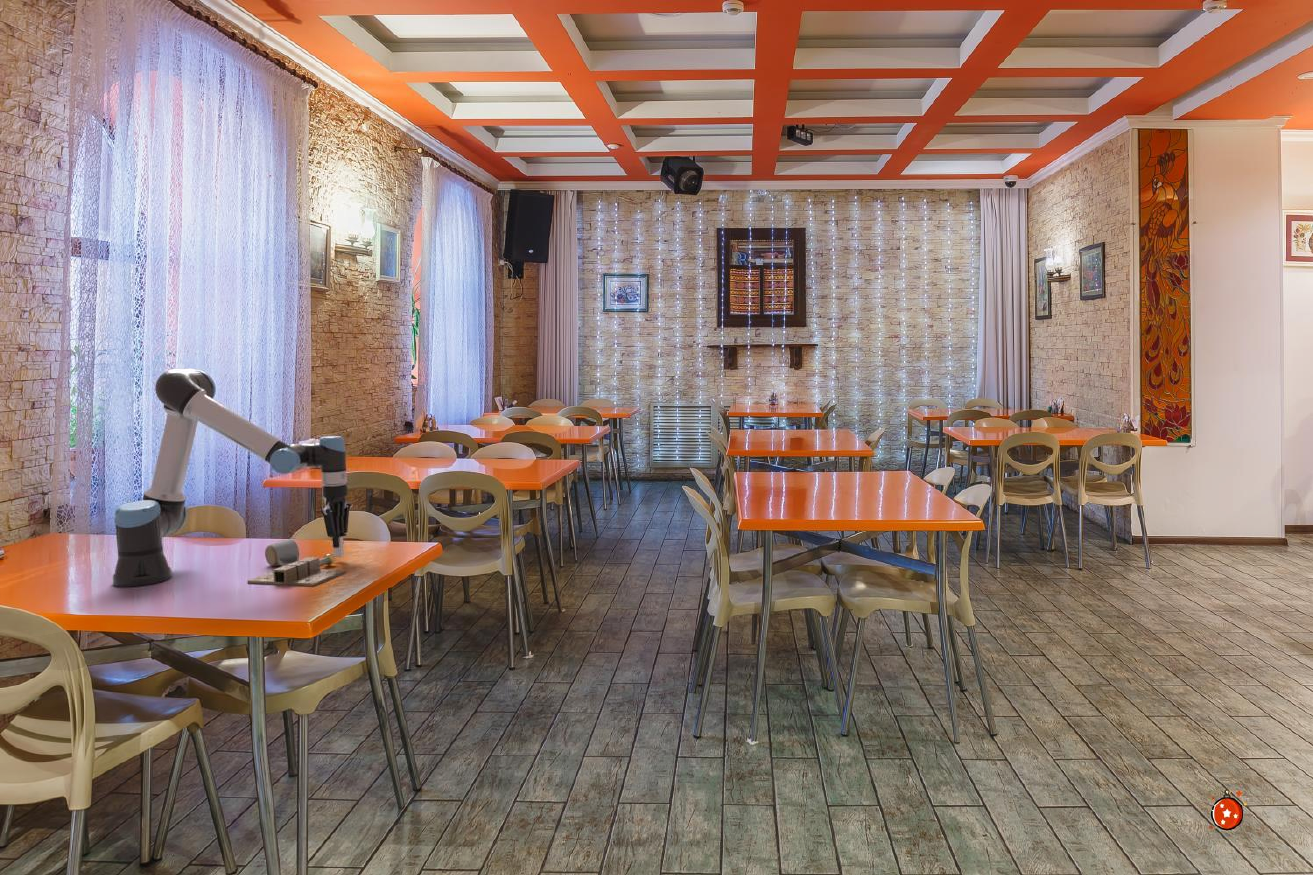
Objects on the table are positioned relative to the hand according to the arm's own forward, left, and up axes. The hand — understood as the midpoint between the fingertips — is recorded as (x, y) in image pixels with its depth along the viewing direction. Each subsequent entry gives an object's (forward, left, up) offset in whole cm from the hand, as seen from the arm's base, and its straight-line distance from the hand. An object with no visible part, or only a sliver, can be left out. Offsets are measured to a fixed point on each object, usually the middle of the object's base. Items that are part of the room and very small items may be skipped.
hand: (338, 556), depth 276 cm
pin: (0, -14, -2) cm, 14 cm away
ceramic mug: (-15, -6, -2) cm, 17 cm away
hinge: (0, -21, -2) cm, 21 cm away
